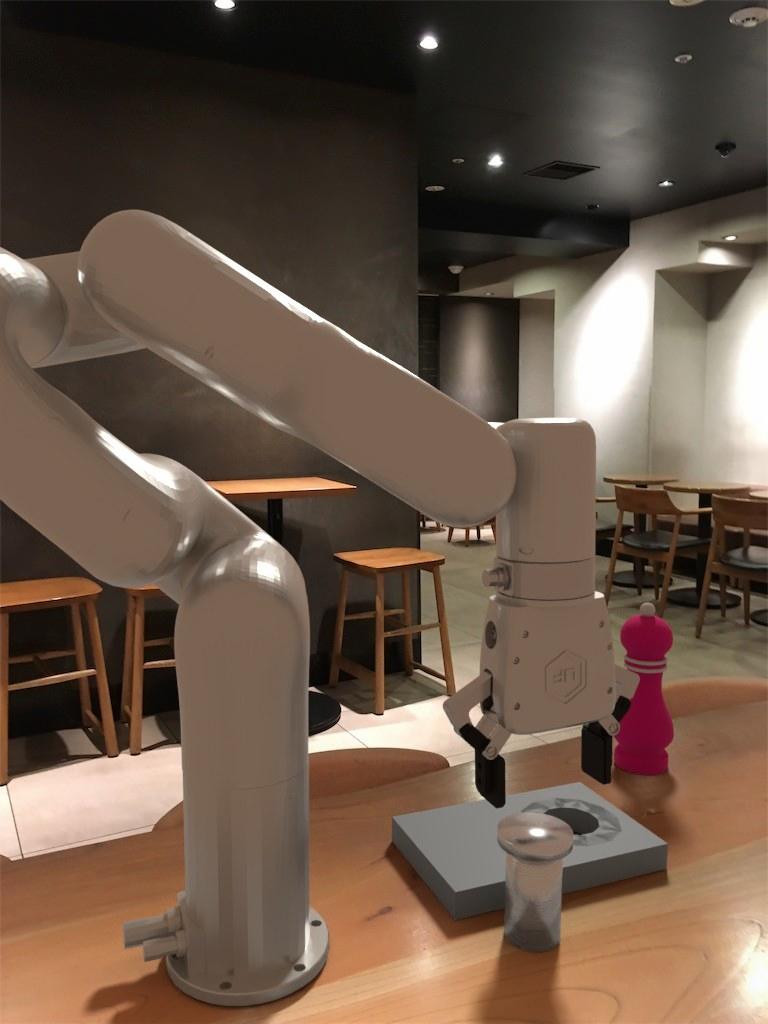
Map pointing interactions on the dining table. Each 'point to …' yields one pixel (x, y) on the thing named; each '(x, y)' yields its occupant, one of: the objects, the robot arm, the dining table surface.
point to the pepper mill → (645, 696)
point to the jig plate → (482, 862)
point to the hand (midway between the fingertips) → (545, 788)
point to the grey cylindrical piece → (533, 878)
